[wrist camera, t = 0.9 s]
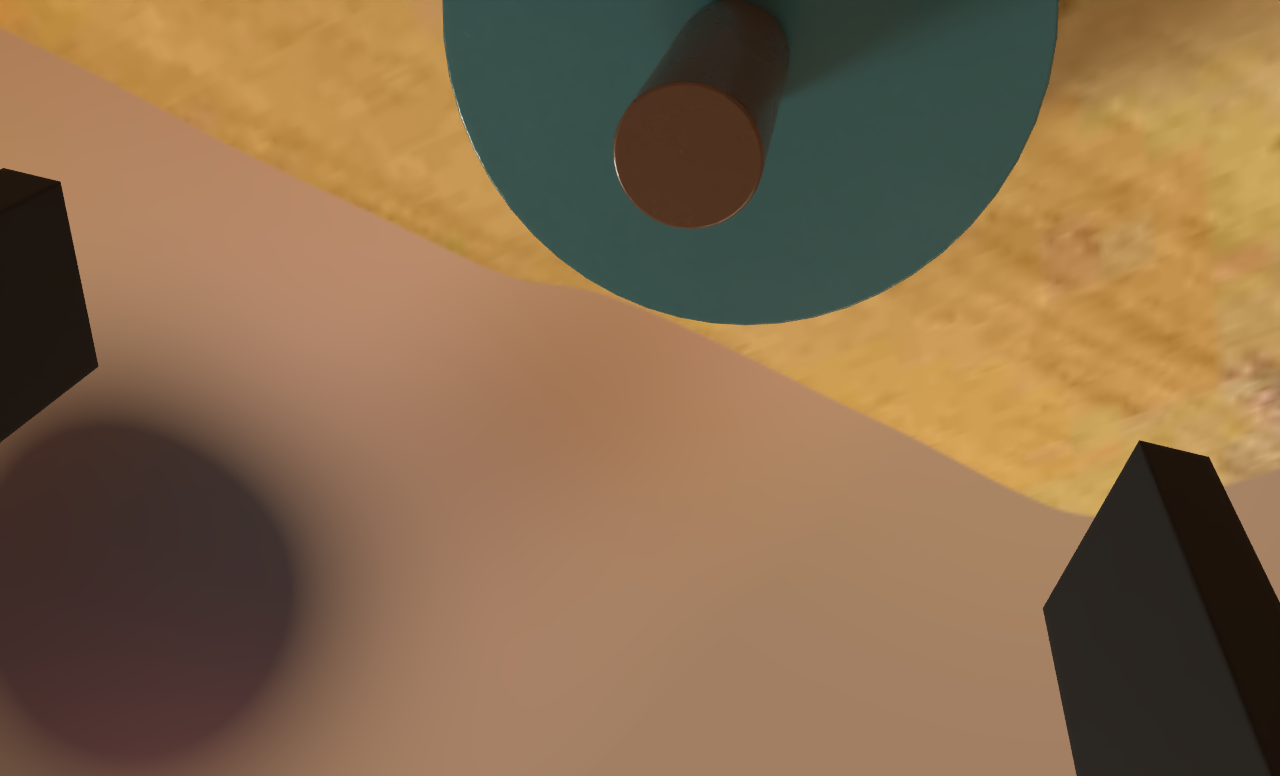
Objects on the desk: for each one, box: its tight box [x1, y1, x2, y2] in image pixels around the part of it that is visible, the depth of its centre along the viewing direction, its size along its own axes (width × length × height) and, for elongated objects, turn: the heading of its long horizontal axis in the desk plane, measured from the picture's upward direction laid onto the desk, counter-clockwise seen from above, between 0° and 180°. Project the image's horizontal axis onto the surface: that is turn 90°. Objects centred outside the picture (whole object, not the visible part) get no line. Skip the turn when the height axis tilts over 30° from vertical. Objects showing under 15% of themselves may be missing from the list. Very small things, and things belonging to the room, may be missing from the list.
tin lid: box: [443, 0, 1059, 325], centre depth 22 cm, size 16×16×9 cm
